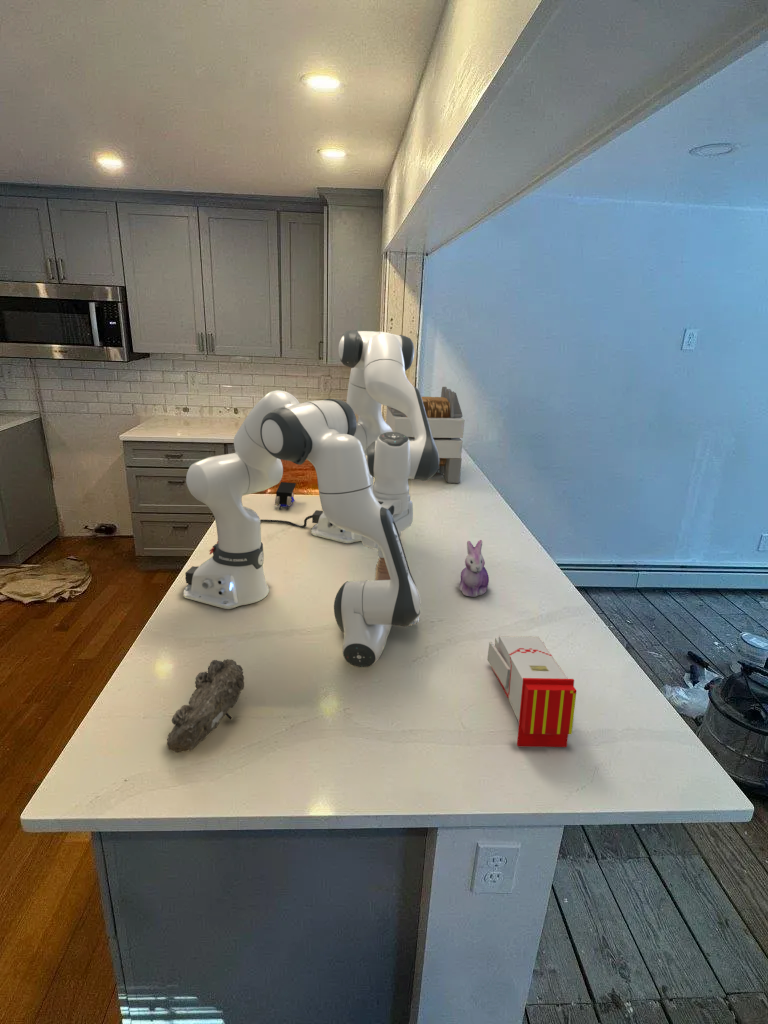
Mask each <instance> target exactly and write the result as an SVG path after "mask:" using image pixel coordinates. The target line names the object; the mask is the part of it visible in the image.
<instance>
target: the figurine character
mask: <svg viewBox="0 0 768 1024" xmlns="http://www.w3.org/2000/svg"><path fill="white" fill-rule="evenodd" d="M296 485H297V483H296V482H286V481H285V482H284V481H280V482H279V486H278V487H277V490H276V491H275V497H274V498H275V499H274V506H278V509H279V510H282V507H285V508H286V510H288V509H289V507H290V506H292V503H294V502H295V499H294V497H295V493H294V490H295V487H296Z"/></svg>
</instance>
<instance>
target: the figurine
mask: <svg viewBox="0 0 768 1024" xmlns="http://www.w3.org/2000/svg"><path fill="white" fill-rule="evenodd" d="M482 548H483V540H482V539H479V540H478V541H477V543H476V544H475V546H474V544H473V543H472V542H471V541H470V540H467V542H466V550H467V555H466V557H465V559H464V565H465V566H464V568H463V569H462V570H461V572H460V581H459V590H460V591H461V593H462V595H463V596H466V597H472V598H473V597H474V598H477V597H478V596H483V595H484V594H485V593H486V592H487V590H488V586H489V583H490V577H489V573H488V571H487V568H486V567H485V565H486V561H485V558H484V556H483V553H482Z"/></svg>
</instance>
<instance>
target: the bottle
mask: <svg viewBox="0 0 768 1024" xmlns="http://www.w3.org/2000/svg"><path fill="white" fill-rule="evenodd" d="M374 580H390V576H389V572H388V569H387V566H386V563H385V559H384V558H381V557H378V559H377V562H376V565H375V575H374Z"/></svg>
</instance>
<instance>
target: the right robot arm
mask: <svg viewBox="0 0 768 1024" xmlns="http://www.w3.org/2000/svg"><path fill="white" fill-rule="evenodd" d="M337 348H338V349H337V350H338V356H339V360H340V362H341V363H342V365H343V366H345V367H348V368H350V372H349V379H348V386H347V387H348V388H347V394H346V400H345V402H346V403H347V404H349V405H350V407H351V408H352V409H353V411H354V413H355V415H356V416H357V417H358V419H357V421H356V422H357V427H356V432H355V435H354V437H356V438H357V439H358V440H359V441H360V442H361V444H362V447H363V450H364V453H365V456H366V460H367V463H368V468H369V472H370V478H371V485H372V490H373V493H374V495H375V497H376V499H377V501H378V502H379V503H380V505H381V506H382V507H384V508H386V509H388V510H389V511H390V513H391V515H392V517H393V519H394V521H395V524H396V527H397V530H398V533H399V536H400V537H401V536H402V532H404V531H405V530H407V529H408V528H410V527H411V526H412V525H413V521H414V505H413V501H412V500H411V494H410V486H409V479H410V480H412V479H413V480H418V481H428V480H430V479H431V478H433V476H435V475H436V474H437V472H438V471H439V469H438V468H439V454H438V451H437V447H436V445H435V442H434V440H433V437H432V434H431V430H430V426H429V423H428V419H427V415H426V411H425V407H424V404H423V401H422V398H421V397H422V395H421V393H420V391H419V389H418V388H417V387H416V386H414V385H413V384H412V383H411V382H410V380H409V378H408V377H407V375H406V371H408V370H409V369H410V368H411V367H412V364H413V361H414V358H415V346H414V342H413V340H412V338H410V337H409V336H406V335H403V334H395V333H392V332H391V333H390V332H386V331H372V330H357V329H349V330H345V332H343V333H342V336H341V338H340V340H339V342H338V347H337ZM382 405H383V406H385V407H387V406H388V407H391V408H394V409H396V410H398V411H400V412H402V413H404V414H405V415H406V416H407V417H408V418H409V420H410V423H411V426H412V430H413V434H414V438H415V441H409V438H408V437H407V436H405V435H404V434H401V433H397V432H393V431H392V429H391V427H390V426H389V425H388V424H387V423H386V420H385V419H384V417H383V414H382V413H383V412H382ZM212 518H214V515H212ZM310 519H312V521H311V522H312V524H314V525H313V526H312V528H311V530H310V533H311V536H315V537H319V538H323V539H326V540H330V541H336V542H339V543H343V544H352V543H357V542H361V544H362V545H363V546H364V547H365V548H368V549H372V550H373V549H374V550H377V557H378V558H379V557H381V558H384V556H383V553H382V550H381V548H380V547H379V546H378V545H377V544H376V543H375V542H374V541H372V540H371V539H369V538H367V537H364V536H362V535H359V534H356V533H352V532H349V531H345V530H343V529H341V528H339V527H337V526H335V525H334V524H333V523H331V522H330V521H329V520H328V519H327V518H326V516H325V515H324V512H323V510H317V509H316V510H315V511H314V512H313V513H312V514H311V515H308V516H306V517H305V518H304V520H303V524H302V525H298V524H297V523H294V522H292V521H288V520H282V519H260V521H261V523H277V524H279V523H281V524H287V525H290V526H293V527H297V528H301V529H304V528H306V527H307V526H308V525H307V523H308V520H310Z"/></svg>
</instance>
